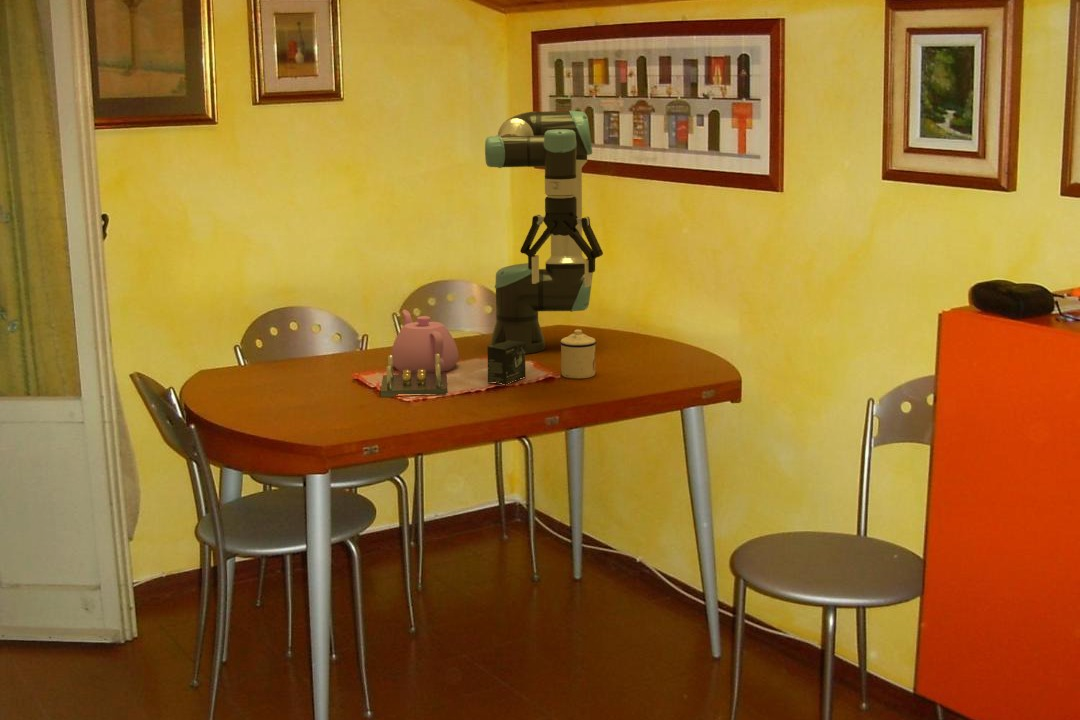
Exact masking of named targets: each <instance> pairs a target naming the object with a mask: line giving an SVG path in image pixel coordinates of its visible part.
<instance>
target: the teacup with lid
mask: <svg viewBox="0 0 1080 720" xmlns="http://www.w3.org/2000/svg"><path fill="white" fill-rule="evenodd" d="M559 344H560V347H561V348H560V349H561V350H560V353H561V354H560V355H561V356H560V358H561V359H560V361H561V363H560V365H561V366H560V367H561V370H560V371H561V372H560V374H561V375H562V376H563V377H564V378H567V379H576V380H577V379H579V380H580V379H581V380H582V379H588V378H589V379H590V378H592V377H594V376H595V375H596V344H597V341H596V339H595V338H594V337H592V336H589V335H587V334H585V333H583V331H582V329H575V330H574V331H573V333H570V334H569V335H568V336H566V337H565V336H564V337H562V339H561V340H560V342H559Z"/></svg>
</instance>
